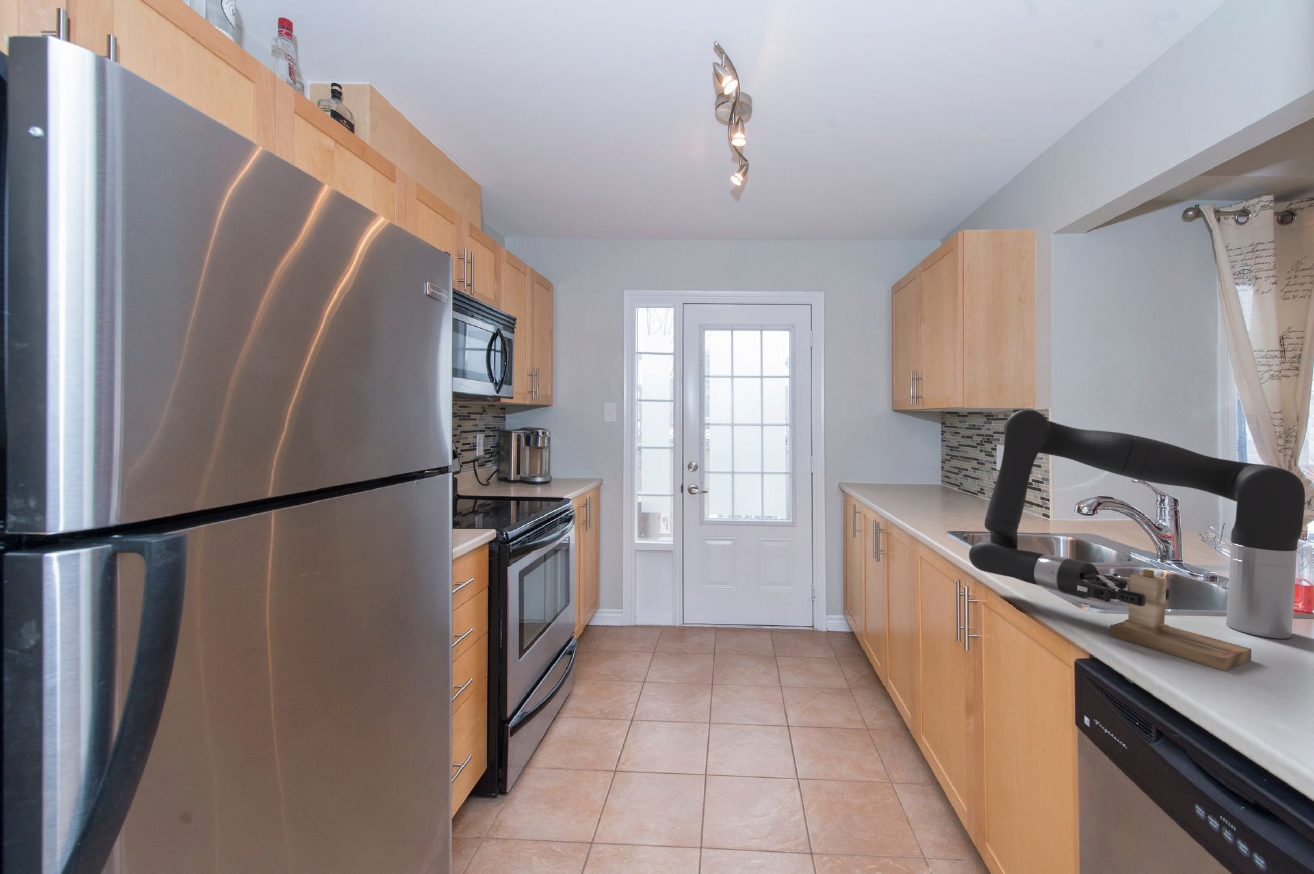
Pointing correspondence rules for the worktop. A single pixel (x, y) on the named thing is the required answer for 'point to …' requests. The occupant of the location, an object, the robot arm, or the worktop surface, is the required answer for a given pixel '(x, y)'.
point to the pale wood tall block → (1148, 604)
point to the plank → (1187, 646)
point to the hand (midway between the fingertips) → (1156, 597)
